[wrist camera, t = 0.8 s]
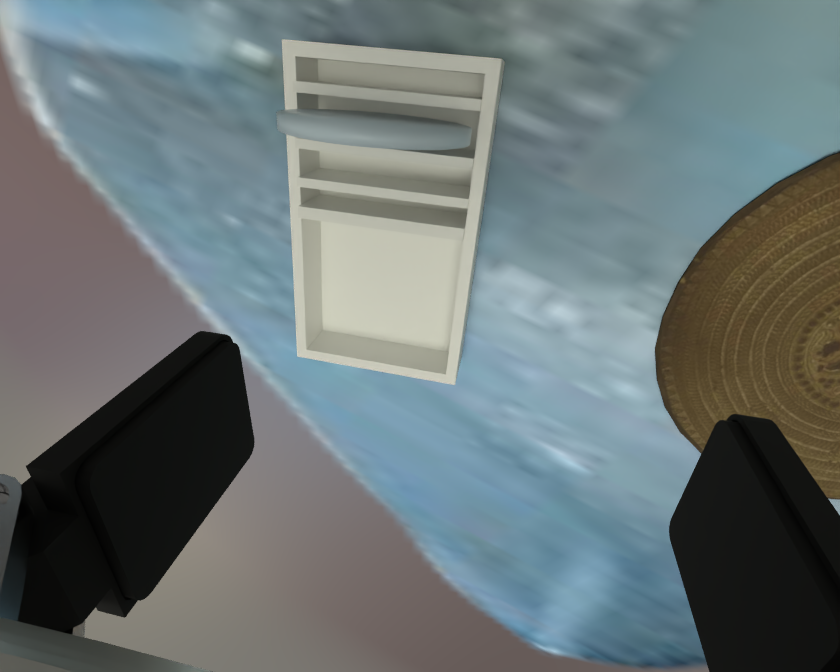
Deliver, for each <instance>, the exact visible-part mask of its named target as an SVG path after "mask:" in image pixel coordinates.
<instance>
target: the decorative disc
mask: <svg viewBox="0 0 840 672" xmlns="http://www.w3.org/2000/svg"><path fill="white" fill-rule="evenodd" d="M655 357H656V372H657V381H658V385H659V388H660V391H661V395H662V398H663V402H664V405H665V408H666V410H667V411H668V413H669V414H670V416H671V418H672V419H673V421H674V423H675V424H676V426H677V428H678V429H679V431H680V432H681V433H682V434H683V435H684V436H685V437H686V438H687V439H688V440H689V441H690V442H691V443H692V444H693V445H694V446H695V447H696V448H697V450H698V451H699V452H700V453H702V452H703V450H704V447H705V445H706V443H707V441H708V439H709V437H710V435H711V432H712V430H713V428H714V426H715V424H716V423H717V422H718V421H719V420H727V418H728V417H729V416H731V415H732V414H740V415H746V416H753V417H759V418H766V419H770V420H772V421H773V422H774V423H775V424H776V425H777V426H778V428H779V429H780V431H781V432H782V433H783V435H784V436H785V438H786V439H787V441H788V442H789V443H790V445H791V446H792V448H793V449H794V451H795V452H796V454H797V455H798V456H799V458H800V459H801V461H802V462H803V464H804V465H805V466H806V468H807V469H808V471H809V472H810V474H811V475H812V477H813V478H814V479H815V481H816V482H817V484H818V485H819V487H820V488H821V489H822V491H823V492H824V494H825V495H826V497H827V498H829V499H840V153H838V154H835V155H832V156H829V157H827V158H825V159H823V160H821V161H819V162H817V163H816V164H814V165H812V166H810V167H808V168H806V169H804V170H802V171H800V172H798V173H796V174H794V175H793V176H791V177H789V178H787V179H785V180H783V181H781V182H779V183H777V184H776V185H775V186H773V187H772V188H770V189H769V190H768V191H766V192H765V193H764V194H762V195H761V196H759V197H758V198H757V199H755V200H754V201H752V202H751V203H750V204H748V205H747V206H746V207H744V208H743V209H741V210H740V211H739V212H737V213H736V214H735V215H734V216H732V217H731V218H730V219H729V220H728V221H727V222H726V223H725V224H724V225H723V226H722V227H721V228H720V229H719V230H718V231H717V232H716V233H715V234H714V235H713V236H712V237H711V238H710V239H709V240H708V241H707V242H706V243H705V244H704V245H703V246H702V247H701V249H700V250H699V251H698V253H697V254H696V256H695V257H694V259H693V260H692V262H691V264H690V265H689V267H688V268H687V270H686V271H685V273H684V274H683V276H682V277H681V279H680V280H679V282H678V284H677V286H676V288H675V290H674V293H673V295H672V297H671V299H670V301H669V303H668V306H667V308H666V310H665V313H664V315H663V317H662V322H661V326H660V330H659V334H658V338H657V342H656V347H655Z"/></svg>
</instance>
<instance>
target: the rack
mask: <svg viewBox="0 0 840 672" xmlns="http://www.w3.org/2000/svg"><path fill="white" fill-rule="evenodd" d="M282 52H283V73H284V93H285V110H281V111H278V112H276V114H277V130H278V131H280V132H282V133H284V134H287V154H288V175H289V195H290V216H291V236H292V256H293V277H294V297H295V318H296V338H297V356H298V357H303V358H309V359H314V360H320V361H325V362H331V363H336V364H342V365H347V366H353V367H358V368H364V369H369V370H375V371H380V372H386V373H391V374H397V375H403V376H408V377H414V378H419V379H425V380H430V381H436V382H441V383H447V384H452V385H455V382H456V378H457V374H458V370H459V366H460V361H461V357H462V351H463V344H464V337H465V330H466V324H467V317H468V310H469V303H470V296H471V290H472V283H473V276H474V269H475V263H476V256H477V249H478V242H479V235H480V229H481V222H482V215H483V208H484V201H485V195H486V188H487V181H488V174H489V167H490V161H491V154H492V147H493V140H494V133H495V127H496V120H497V113H498V106H499V100H500V93H501V86H502V79H503V72H504V66H505V62H504V61H503V59H499V58H488V57H477V56H465V55H454V54H443V53H431V52H420V51H409V50H397V49H386V48H375V47H363V46H352V45H341V44H329V43H318V42H307V41H295V40H284V39H282Z"/></svg>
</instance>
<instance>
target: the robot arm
mask: <svg viewBox="0 0 840 672" xmlns="http://www.w3.org/2000/svg"><path fill="white" fill-rule="evenodd" d="M253 448H254V435H253V429H252V423H251V417H250V411H249V405H248V398H247V393H246V386H245V380H244V374H243V368H242V361H241V355H240V350H239V347H238V345H237V344H236V343H233V341H232V339H231V337H230V336H228V335H225V334H218V333H212V332H205V331H200V332H198V333H196V334H195V335H193V336H192V337H191V338H189V339H188V340H187V341H186V342H184V343H183V344H182V345H181V346H179V347H178V348H177V349H175V350H174V351H173V352H172V353H170V354H169V355H168V356H166V357H165V358H164V359H163V360H161V361H160V362H159V363H157V364H156V365H155V366H154V367H152V368H151V369H150V370H149V371H147V372H146V373H145V374H143V375H142V376H141V377H140V378H138V379H137V380H136V381H134V382H133V383H132V384H131V385H130V386H128V387H127V388H125V389H124V390H123V391H122V392H120V393H119V394H118V395H117V396H115V397H114V398H113V399H112V400H110V401H109V402H108V403H106V404H105V405H104V406H102V407H101V408H100V409H99V410H98V411H96V412H95V413H94V414H92V415H91V416H90V417H88V418H87V419H86V420H85V421H83V422H82V423H81V424H80V425H78V426H77V427H76V428H74V429H73V430H72V431H70V432H69V433H68V434H67V435H65V436H64V437H63V438H62V439H60V440H59V441H58V442H57V443H55V444H54V445H53V446H52V447H50V448H49V449H47V450H46V451H45V452H44V453H42V454H41V455H40V456H39V457H37V458H36V459H35V460H33V461H32V462H31V463H30V464H28V465H27V466H26V468H27V470H28V471H29V473H30V476H31V477H30V478H29V479H28V480H27V481H25V482H24V483H23V484H22V485H21V484H20V483H19V482H18V480H17V479H16V478H15V477H11V476H8V475H5V474H0V672H213V671H208V670H205V669H201V668H198V667H194V666H190V665H186V664H183V663H179V662H175V661H171V660H168V659H164V658H160V657H156V656H153V655H149V654H145V653H141V652H137V651H134V650H130V649H126V648H122V647H119V646H115V645H111V644H108V643H104V642H100V641H96V640H92V639H88V638H84V633H85V619H86V618H87V617H88V616H89V615H90V613H91V612H92V611H93V610H94V608H95V607H96V608H97V610H98V611H102V612H105V613H109V614H113V615H117V616H121V617H126V616H127V614H128V613H129V612H130V610H131V609H132V608H133V606H134V605H135V604H136V602H137V601H138V600H143V599H145V598H146V597H147V596H148V595H149V594H150V593H151V592H152V591H153V589H154V588H155V587H156V585H157V584H158V582H159V581H160V580H161V578H162V577H163V576H164V574H165V573H166V572H167V570H168V569H169V568H170V566H171V565H172V563H173V562H174V561H175V559H176V558H177V556H178V555H179V554H180V552H181V551H182V550H183V548H184V547H185V545H186V544H187V543H188V541H189V540H190V539H191V537H192V536H193V534H194V533H195V532H196V530H197V529H198V528H199V526H200V525H201V523H202V522H203V521H204V519H205V518H206V517H207V515H208V514H209V512H210V511H211V510H212V508H213V507H214V506H215V504H216V503H217V502H218V500H219V499H220V497H221V496H222V495H223V493H224V492H225V491H226V489H227V488H228V487H229V485H230V484H231V482H232V481H233V480H234V478H235V477H236V475H237V474H238V473H239V471H240V470H241V468H242V467H243V466H244V465H245V463H246V462H247V460H248V459H249V458H250V456H251V454H252V451H253ZM669 535H670V541H671V544H672V547H673V551H674V554H675V557H676V561H677V564H678V568H679V571H680V574H681V578H682V581H683V584H684V588H685V591H686V594H687V598H688V601H689V605H690V608H691V611H692V615H693V618H694V621H695V625H696V628H697V631H698V635H699V638H700V641H701V645H702V648H703V652H704V655H705V658H706V662H707V665H708V668H709V672H840V515H839V514H838V512H837V511H836V510H835V508H834V507H833V505H832V504H831V502H830V501H829V500H828V498H827V497H826V495H825V494H824V492H823V491H822V489H821V488H820V487H819V485H818V484H817V482H816V481H815V479H814V478H813V477H812V475H811V474H810V472H809V471H808V469H807V468H806V466H805V465H804V464H803V462H802V461H801V459H800V458H799V456H798V455H797V454H796V452H795V451H794V449H793V448H792V446H791V445H790V443H789V442H788V441H787V439H786V438H785V436H784V435H783V433H782V432H781V431H780V429H779V428H778V426H777V425H776V424H775V423H774V422H773V421H772V420H770V419H766V418H759V417H753V416H746V415H740V414H732V415H731V416H729V417H728V418H727V420H719V421H718V422H717V423H716V424H715V426H714V428H713V430H712V432H711V435H710V437H709V439H708V441H707V443H706V445H705V447H704V450H703V452H702V454H701V456H700V458H699V460H698V462H697V465H696V467H695V469H694V471H693V473H692V475H691V477H690V480H689V482H688V484H687V486H686V488H685V490H684V492H683V495H682V497H681V499H680V501H679V503H678V505H677V507H676V510H675V512H674V514H673V516H672V518H671V521H670V526H669Z"/></svg>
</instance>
